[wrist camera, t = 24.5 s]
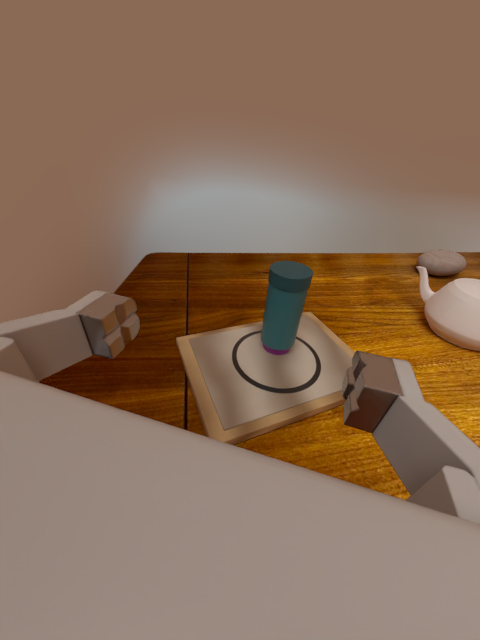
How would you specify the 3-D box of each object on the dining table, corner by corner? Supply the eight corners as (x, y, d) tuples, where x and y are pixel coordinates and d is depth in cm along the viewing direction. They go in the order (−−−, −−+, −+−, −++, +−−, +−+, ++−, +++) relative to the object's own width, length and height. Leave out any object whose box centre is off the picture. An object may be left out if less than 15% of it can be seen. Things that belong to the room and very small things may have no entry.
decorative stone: (440, 284, 57) (452, 264, 55) (403, 269, 64) (412, 249, 61) (468, 275, 63) (481, 256, 60) (431, 262, 69) (441, 243, 66)
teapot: (380, 312, 46) (405, 258, 40) (412, 295, 52) (438, 246, 46) (524, 387, 33) (592, 324, 27) (544, 353, 39) (603, 295, 34)
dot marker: (268, 361, 32) (283, 281, 25) (253, 338, 35) (263, 262, 29) (300, 353, 33) (321, 275, 27) (282, 332, 37) (297, 259, 30)
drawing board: (211, 453, 24) (211, 444, 23) (176, 344, 35) (175, 335, 34) (384, 389, 31) (390, 380, 30) (308, 317, 43) (310, 309, 42)
